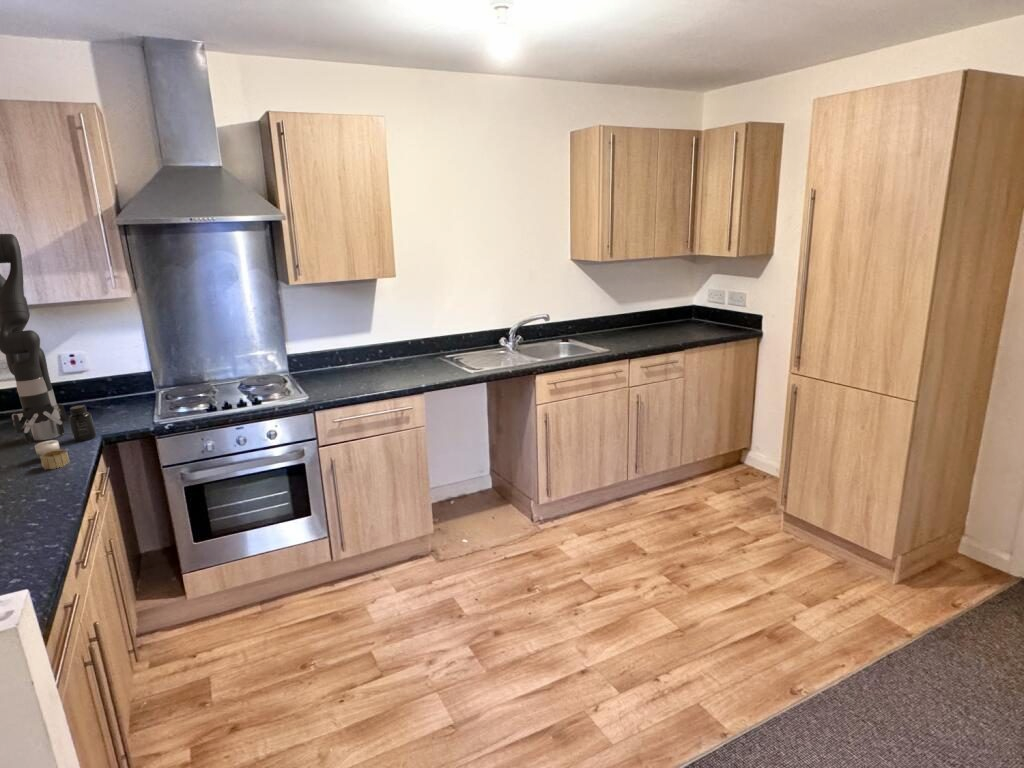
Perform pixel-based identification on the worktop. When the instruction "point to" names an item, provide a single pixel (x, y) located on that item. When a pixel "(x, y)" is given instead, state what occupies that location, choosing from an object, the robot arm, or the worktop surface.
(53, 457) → the wooden slatted bowl
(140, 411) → the worktop surface
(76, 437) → the supplement bottle
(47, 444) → the cap
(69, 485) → the worktop surface
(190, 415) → the worktop surface
